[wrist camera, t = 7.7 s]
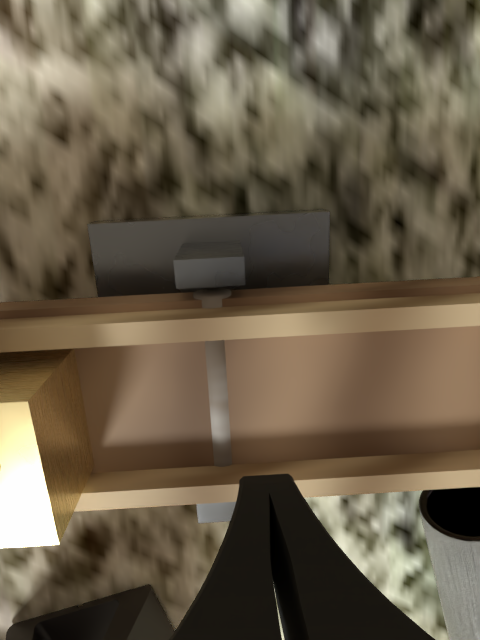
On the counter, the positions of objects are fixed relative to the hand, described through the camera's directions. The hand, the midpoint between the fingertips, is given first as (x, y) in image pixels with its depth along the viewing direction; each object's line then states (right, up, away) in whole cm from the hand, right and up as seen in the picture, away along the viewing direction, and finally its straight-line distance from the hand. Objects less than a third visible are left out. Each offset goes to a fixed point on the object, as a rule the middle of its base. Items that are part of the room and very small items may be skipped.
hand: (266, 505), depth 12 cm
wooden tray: (-2, +2, +6) cm, 6 cm away
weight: (-9, +2, +5) cm, 10 cm away
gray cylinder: (+14, -14, +13) cm, 24 cm away
